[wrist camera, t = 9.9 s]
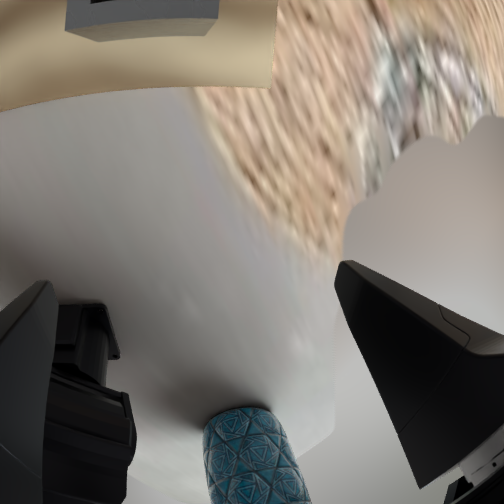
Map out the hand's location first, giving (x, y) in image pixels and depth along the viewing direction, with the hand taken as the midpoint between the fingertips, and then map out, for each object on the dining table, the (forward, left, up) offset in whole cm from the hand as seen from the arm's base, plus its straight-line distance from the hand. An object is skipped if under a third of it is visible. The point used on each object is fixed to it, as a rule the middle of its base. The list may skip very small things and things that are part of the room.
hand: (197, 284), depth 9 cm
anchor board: (+11, +4, -12) cm, 17 cm away
